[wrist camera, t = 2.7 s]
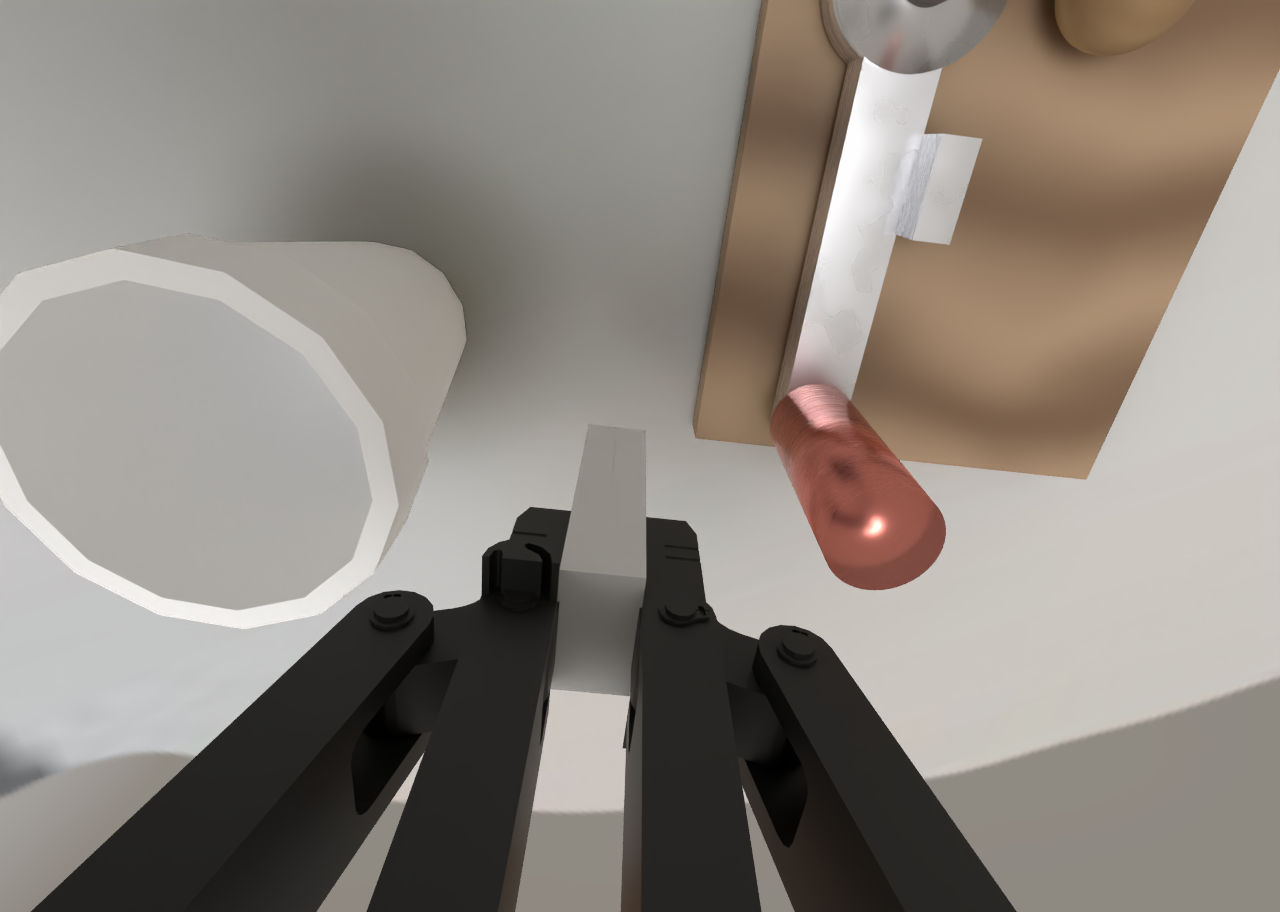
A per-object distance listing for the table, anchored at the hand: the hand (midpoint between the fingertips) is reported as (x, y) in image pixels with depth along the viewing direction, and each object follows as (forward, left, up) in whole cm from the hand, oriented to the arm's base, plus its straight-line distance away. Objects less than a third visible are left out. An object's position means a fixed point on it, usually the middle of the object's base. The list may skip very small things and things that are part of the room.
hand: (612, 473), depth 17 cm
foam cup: (0, -10, -11) cm, 15 cm away
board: (-8, +12, -11) cm, 18 cm away
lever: (-7, +7, -9) cm, 13 cm away
